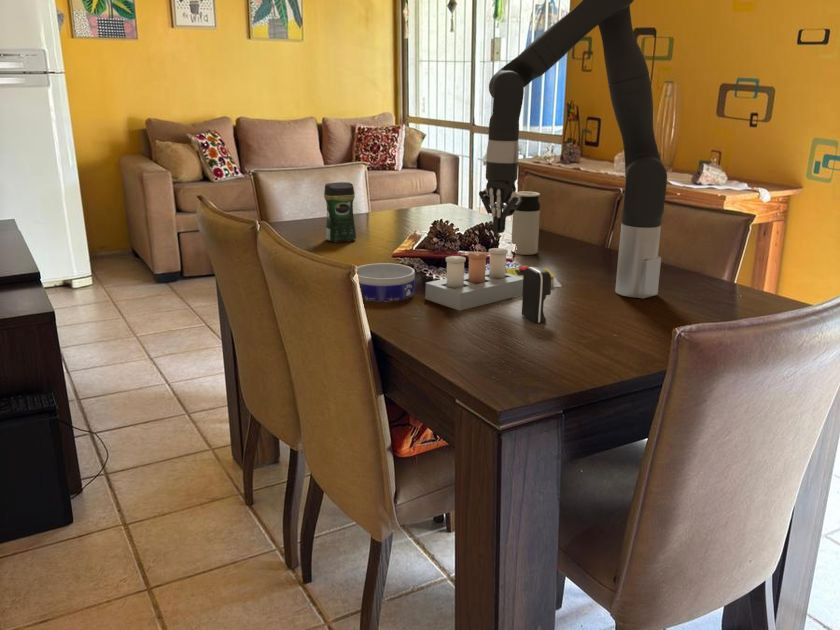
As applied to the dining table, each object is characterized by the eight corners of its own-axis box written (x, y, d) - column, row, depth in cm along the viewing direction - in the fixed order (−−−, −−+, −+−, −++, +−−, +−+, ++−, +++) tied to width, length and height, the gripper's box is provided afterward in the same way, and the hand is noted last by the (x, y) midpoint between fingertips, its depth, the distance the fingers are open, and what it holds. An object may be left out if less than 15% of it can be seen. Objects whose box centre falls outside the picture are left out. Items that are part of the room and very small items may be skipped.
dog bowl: (401, 306, 177) (401, 281, 175) (341, 299, 182) (340, 274, 180) (423, 289, 190) (423, 266, 189) (367, 283, 195) (367, 260, 194)
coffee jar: (352, 237, 251) (351, 180, 245) (358, 241, 243) (357, 183, 238) (323, 238, 248) (321, 181, 242) (328, 243, 240) (326, 184, 235)
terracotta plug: (490, 283, 183) (491, 254, 181) (476, 286, 180) (477, 257, 178) (476, 279, 186) (477, 251, 184) (463, 282, 183) (463, 253, 181)
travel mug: (525, 256, 225) (528, 195, 220) (505, 252, 231) (508, 192, 226) (542, 253, 230) (546, 193, 225) (523, 248, 236) (525, 190, 231)
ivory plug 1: (468, 287, 178) (469, 258, 176) (454, 291, 176) (455, 261, 174) (455, 283, 182) (456, 255, 180) (441, 286, 179) (441, 257, 177)
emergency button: (499, 263, 200) (555, 263, 201) (498, 279, 201) (554, 279, 202) (504, 272, 191) (563, 272, 192) (503, 289, 193) (562, 289, 193)
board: (525, 294, 186) (526, 278, 185) (459, 310, 173) (459, 293, 172) (491, 284, 195) (491, 269, 194) (425, 298, 182) (425, 282, 181)
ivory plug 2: (510, 278, 187) (511, 250, 185) (497, 281, 184) (498, 253, 182) (497, 274, 190) (498, 247, 188) (483, 277, 188) (484, 249, 185)
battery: (551, 322, 165) (554, 271, 162) (535, 324, 164) (538, 273, 160) (535, 313, 171) (538, 264, 168) (520, 315, 170) (523, 265, 166)
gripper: (534, 161, 176) (529, 235, 181) (493, 156, 186) (490, 226, 191) (511, 163, 172) (507, 239, 177) (471, 157, 181) (468, 229, 187)
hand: (498, 232), depth 184 cm, fingers closed
